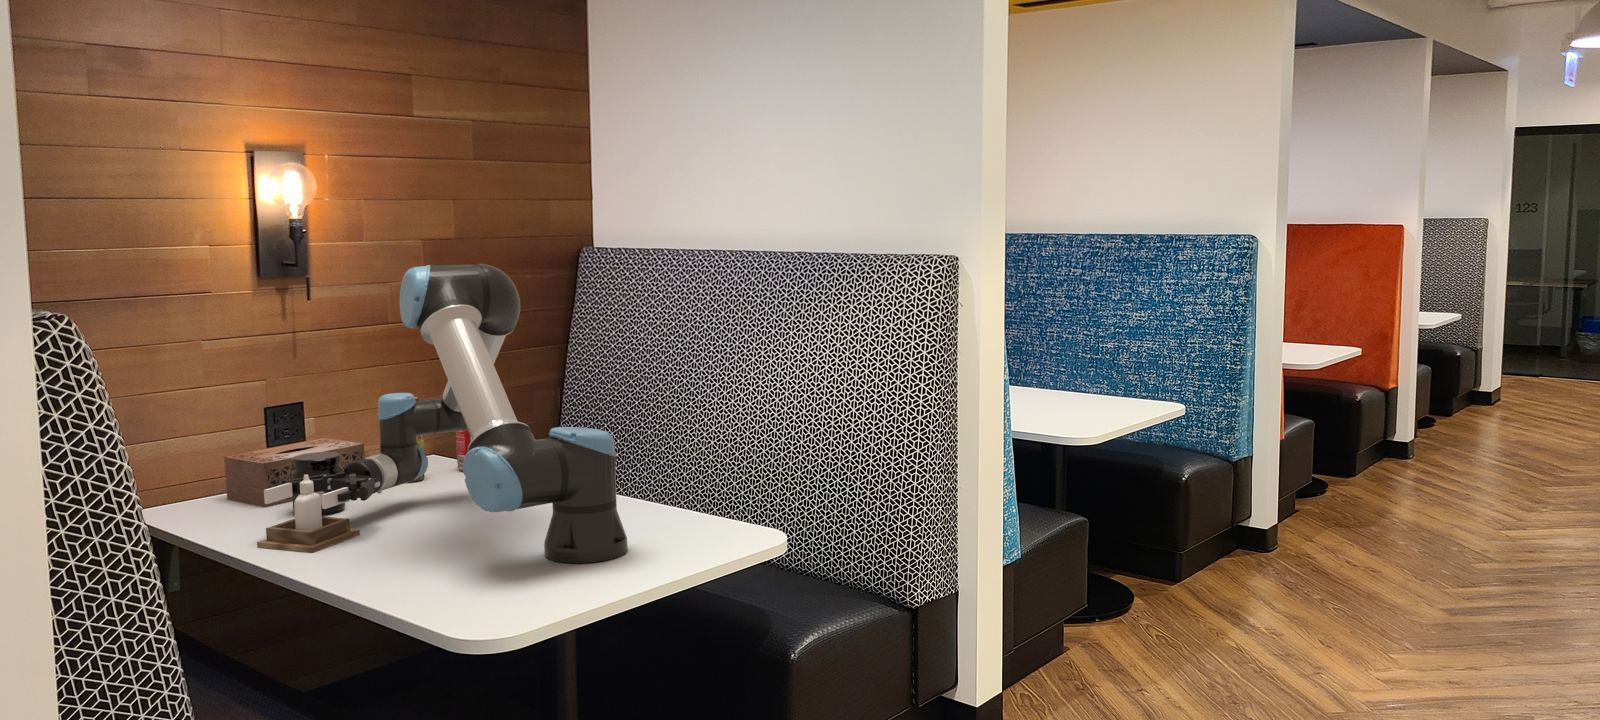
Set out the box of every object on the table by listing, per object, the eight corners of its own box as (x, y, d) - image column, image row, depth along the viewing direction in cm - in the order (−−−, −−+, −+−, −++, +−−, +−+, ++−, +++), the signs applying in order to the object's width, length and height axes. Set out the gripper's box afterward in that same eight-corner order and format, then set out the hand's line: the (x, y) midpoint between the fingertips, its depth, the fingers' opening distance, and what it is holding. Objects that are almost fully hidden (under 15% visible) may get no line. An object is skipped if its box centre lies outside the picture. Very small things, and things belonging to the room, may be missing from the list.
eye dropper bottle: (290, 536, 227) (286, 475, 225) (318, 531, 231) (314, 471, 230) (300, 540, 224) (296, 479, 222) (329, 534, 228) (325, 474, 227)
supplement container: (334, 517, 246) (331, 460, 245) (284, 517, 246) (280, 461, 245) (353, 504, 257) (350, 450, 255) (305, 505, 257) (301, 451, 255)
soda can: (491, 466, 295) (489, 419, 293) (480, 473, 288) (478, 424, 286) (463, 466, 295) (461, 419, 294) (452, 472, 288) (450, 424, 287)
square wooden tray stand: (359, 535, 231) (358, 517, 231) (312, 552, 219) (311, 534, 219) (306, 530, 236) (305, 513, 235) (257, 547, 223) (256, 529, 223)
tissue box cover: (266, 508, 255) (263, 463, 254) (227, 500, 263) (224, 456, 262) (366, 485, 277) (364, 443, 275) (327, 478, 284) (325, 438, 283)
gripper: (420, 497, 240) (349, 523, 220) (321, 489, 248) (243, 514, 228) (418, 461, 239) (347, 484, 219) (319, 454, 247) (241, 476, 227)
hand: (294, 499), depth 223 cm, fingers open, 13 cm apart
